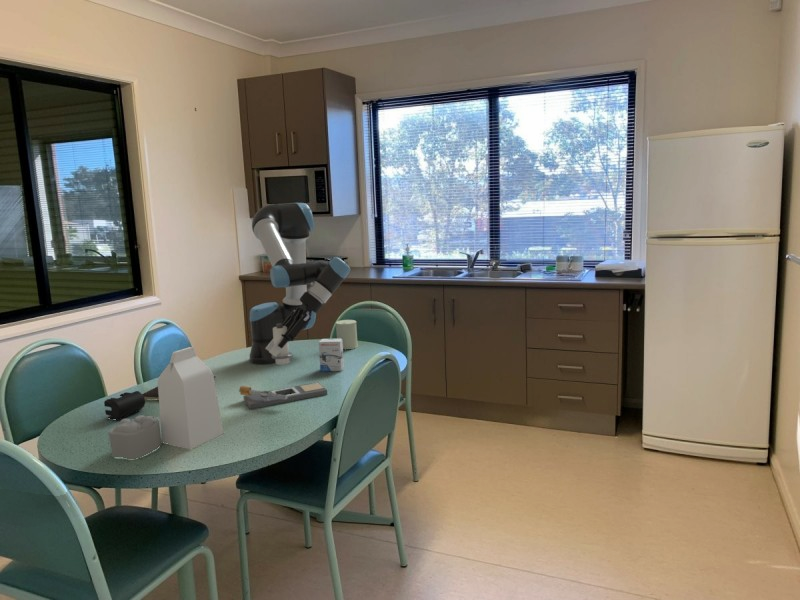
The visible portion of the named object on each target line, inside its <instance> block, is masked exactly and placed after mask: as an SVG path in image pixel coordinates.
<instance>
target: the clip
mask: <svg viewBox="0 0 800 600" xmlns="http://www.w3.org/2000/svg"><path fill="white" fill-rule="evenodd" d="M269 391H270V390H263V391H262V390H256V389H252V387H251V386H246V385H242V386H241V385H240V386H239V389H238V392H239V393H240V395H242V396H245V395H247V396H250V395H252V394H254V395H260V396H261V397H272V398H278V399H284V400H286V399H288V397H287V395H288V394H286V395H281V394H275V393H270V392H269Z"/></svg>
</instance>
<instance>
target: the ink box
mask: <svg viewBox="0 0 800 600" xmlns="http://www.w3.org/2000/svg"><path fill="white" fill-rule="evenodd" d="M318 352H319V353H318V356H319V368H320V371H319V372H342V371H343V370H344V369H345V363H344V362H345V361H344V350H343V343H342V339H337V338H322V339H320V340H319V341H318Z"/></svg>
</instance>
